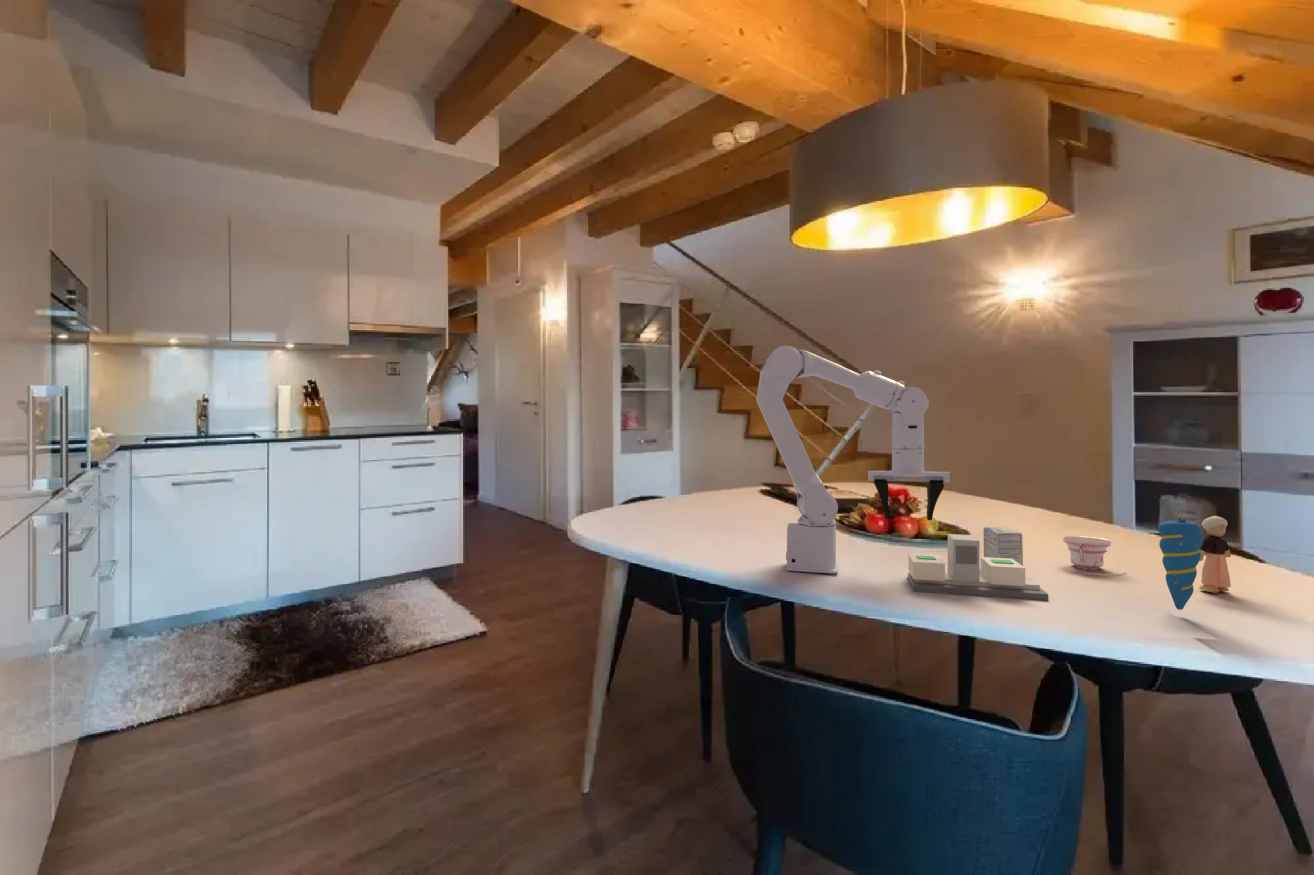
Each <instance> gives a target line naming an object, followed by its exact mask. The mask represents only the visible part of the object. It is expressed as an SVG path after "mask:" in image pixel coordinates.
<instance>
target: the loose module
mask: <svg viewBox="0 0 1314 875" xmlns="http://www.w3.org/2000/svg"><path fill="white" fill-rule="evenodd" d="M947 573H948V574H949V575H950V577H951V578H952V579H953V581H969V582H980V574H981V557H980V540H979V539H978V538H976V537H975V535H972V534H955V533H954V534H953V533H952V534H951V533H948V534H947Z"/></svg>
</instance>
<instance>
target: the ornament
mask: <svg viewBox="0 0 1314 875" xmlns="http://www.w3.org/2000/svg"><path fill="white" fill-rule="evenodd" d="M1181 512H1182V510H1180V511H1179V514H1178V515H1177V520H1166V521H1163V522H1161V523H1160V524H1159V525H1158V527H1157V528H1158V529H1157V530H1158V534H1159V535H1160V540H1159V548H1160V550H1161V553H1162V554H1163V556H1162V565H1163V567H1164V569H1165V572H1166V574H1165V582H1166V586H1167V588H1168V590H1169V593H1170V596H1171V598H1172V601H1173V605H1174V606H1175V608H1176V609H1177V610H1179V611H1182V610H1184V608H1185V606H1186V604H1187V603H1188V602H1189V601H1190V599H1191V597H1192V595H1193V594H1194V582H1195V580H1196V577H1197V574H1198V571H1197V566H1198V564H1199V562H1200V561H1199V560H1200V558H1201V554H1200V551H1199V549H1200V547H1201V545H1202V543H1203V540H1204V535H1203V531H1202V529H1201V527H1200V525H1199V524H1198V523H1197V522H1192V521H1187V516H1186V515H1185V513H1183V515H1182V514H1181Z"/></svg>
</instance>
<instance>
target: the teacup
mask: <svg viewBox="0 0 1314 875" xmlns="http://www.w3.org/2000/svg"><path fill="white" fill-rule="evenodd" d="M1062 540H1063V542H1064V543H1065V544H1066V545H1067V549H1068V550H1069V553H1070V558H1069V559H1070V560H1069V561H1070V564H1073V565H1074V567H1075V568H1078V569H1081V568H1083V570H1087V569H1090V570H1089V571H1091V570H1092V571H1094V570H1095V571H1097V570H1099V568H1102V567H1103V566H1104V564H1105V563H1104V562H1105V561H1104V557H1105V556H1104V555H1105V554H1106V553H1107V552H1108V551H1107V549H1108V548H1109V547H1110V546H1112V540H1110V539H1107V538H1102V537H1097V536H1088V535H1087V536H1085V535H1068V536H1064V537H1063V538H1062ZM1055 567H1056V568H1058V569H1060V570H1063V571H1066V572H1070V573H1075V572H1077V573H1076V574H1080V573H1082V575H1092V576H1104V577H1106V576H1107V577H1111V576H1113V577H1116V576H1123V575H1125V574H1126V575H1127V572H1126V571H1127V570H1125V569H1122V568H1121V570H1122V572H1123V573H1122V572H1121V573H1093V572H1092V573H1090V572H1083V571H1076V570H1070V569H1065V568H1062V567H1058V566H1055ZM1115 568H1118V567H1116V566H1115ZM1096 569H1097V570H1096Z"/></svg>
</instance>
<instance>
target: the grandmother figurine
mask: <svg viewBox="0 0 1314 875" xmlns="http://www.w3.org/2000/svg"><path fill="white" fill-rule="evenodd" d="M1228 525H1229V524H1228V521H1227V519H1225V518H1223V517H1221V516H1218V515H1212V516H1210V517H1207V518H1205V519H1203V520H1202V523H1201V527H1202V528H1203V529H1205V532H1206V534H1208V535H1207V536H1205V537H1203V543H1202V545H1201V547H1200V549H1199V551H1200V554H1201V558H1200V560H1199V562H1202V561H1203V560H1204V557H1205V560H1204V562H1203V565H1202V567H1201V580H1200V582H1201V584H1202V585H1200V586H1199V587H1198V590H1201V591H1205V592H1209V593H1220V592H1228V591H1230V590H1229V588H1232V585H1231V584H1232V583H1231V578H1230V572H1229V571H1230V570H1229V567H1228V562H1227V558H1231V556H1232V553H1231V551H1230V546H1229V544H1228V542H1227V540H1226V539H1225V538H1223V536H1225V534H1226V531H1227V529H1226V528H1227V527H1228Z"/></svg>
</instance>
